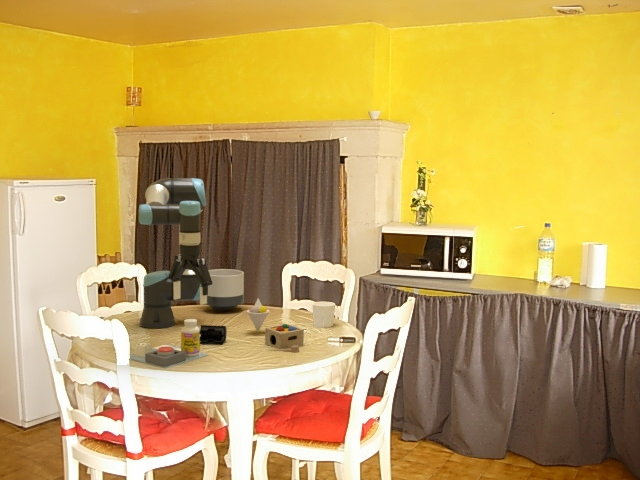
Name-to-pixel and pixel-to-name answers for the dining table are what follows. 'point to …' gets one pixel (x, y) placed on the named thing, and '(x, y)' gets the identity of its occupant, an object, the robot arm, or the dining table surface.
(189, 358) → the board
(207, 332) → the end cap
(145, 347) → the die
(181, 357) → the button housing
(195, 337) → the supplement bottle
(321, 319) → the cup
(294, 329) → the pounding toy
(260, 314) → the toy
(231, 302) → the planter
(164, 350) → the pop button
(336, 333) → the dining table surface
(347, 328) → the dining table surface
